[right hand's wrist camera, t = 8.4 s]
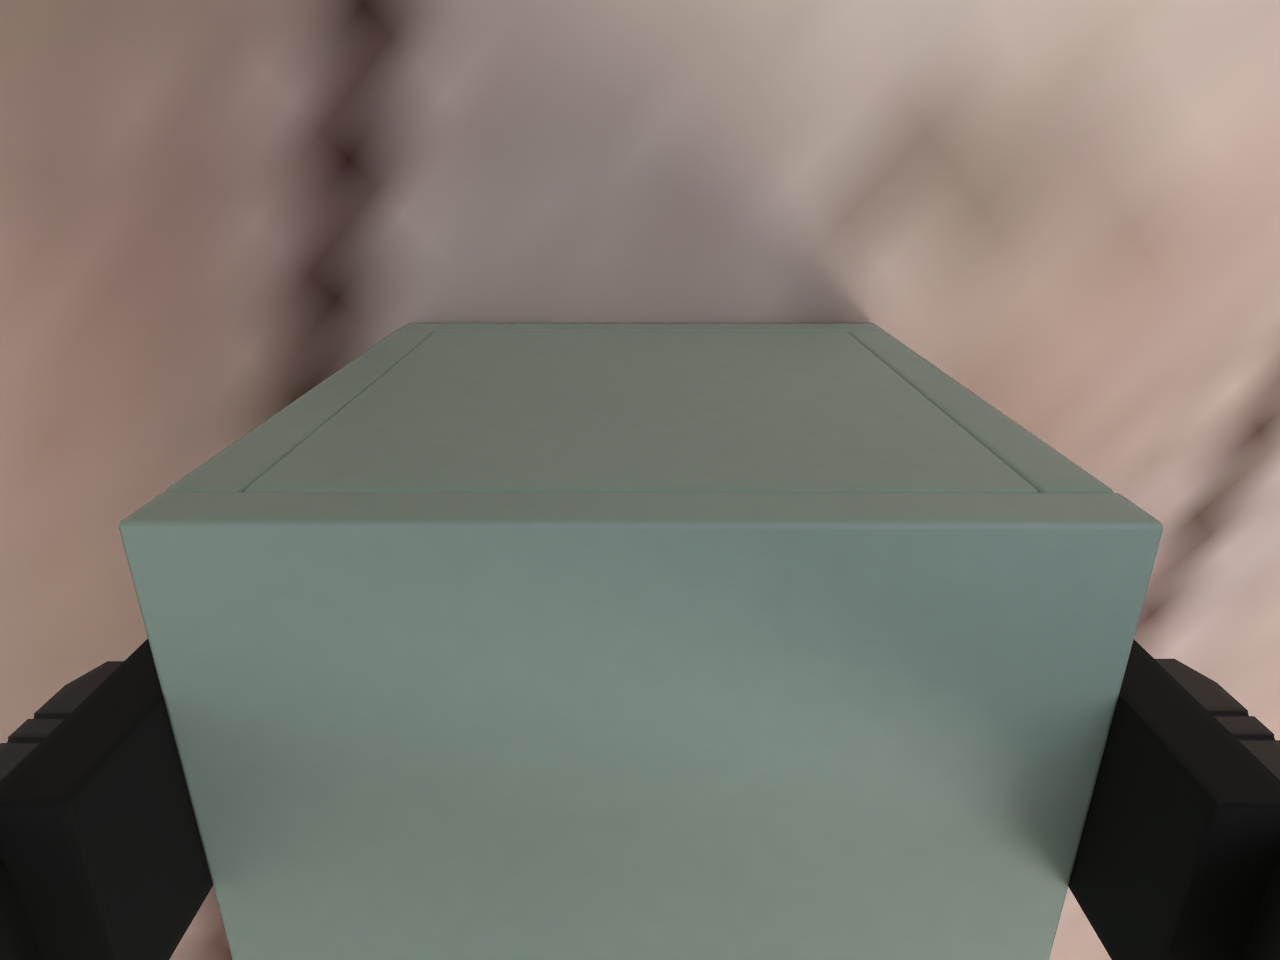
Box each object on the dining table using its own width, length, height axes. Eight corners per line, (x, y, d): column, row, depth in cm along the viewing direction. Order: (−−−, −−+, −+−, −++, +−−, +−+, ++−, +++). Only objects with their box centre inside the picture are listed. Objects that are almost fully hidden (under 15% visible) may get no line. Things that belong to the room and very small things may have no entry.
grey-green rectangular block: (811, 917, 24) (926, 1428, 14) (469, 917, 24) (353, 1428, 14) (875, 322, 17) (1168, 524, 8) (405, 322, 17) (114, 523, 8)
